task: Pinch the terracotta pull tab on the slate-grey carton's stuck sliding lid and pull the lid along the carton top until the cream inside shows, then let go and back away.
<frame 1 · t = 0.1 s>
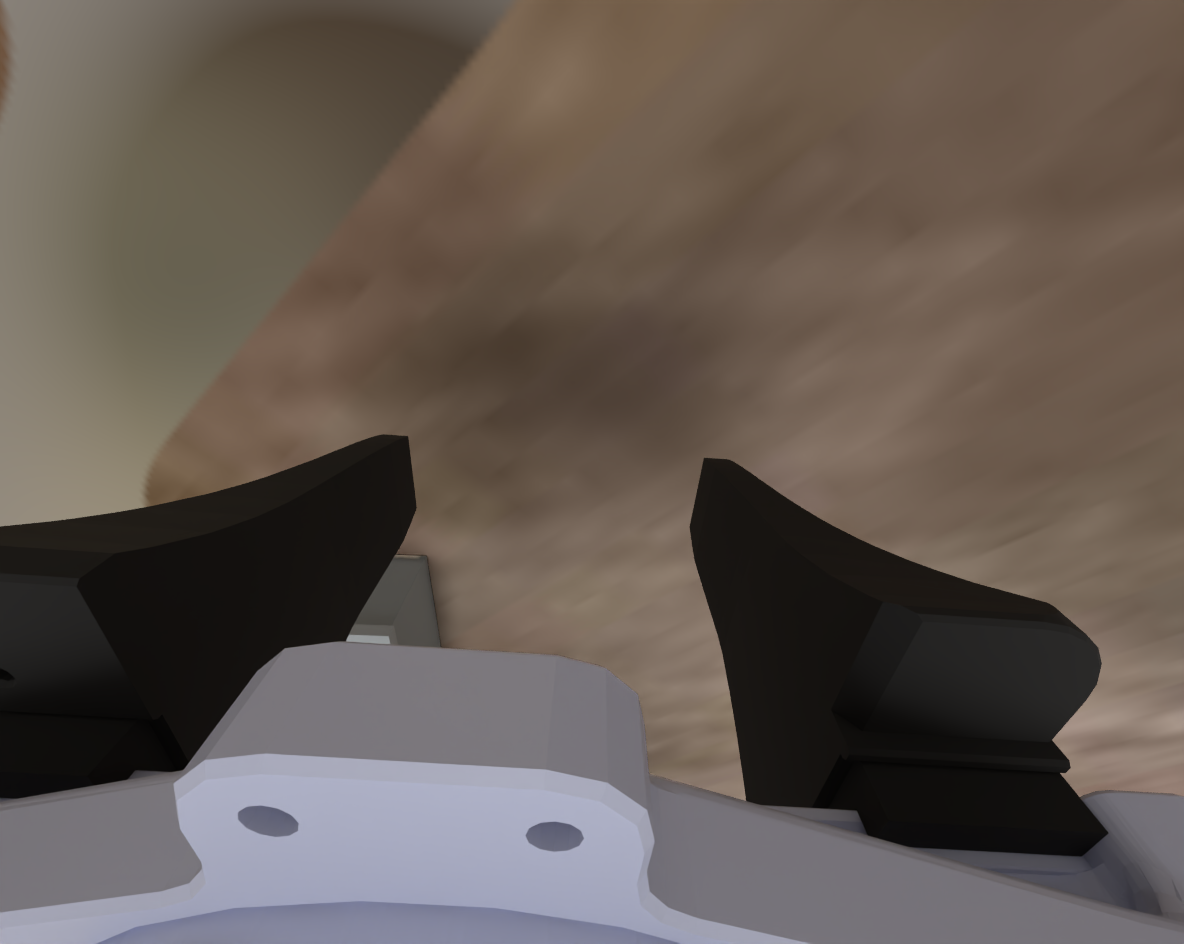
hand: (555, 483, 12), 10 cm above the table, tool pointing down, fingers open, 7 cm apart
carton: (351, 620, 28), on the table
lid: (276, 743, 22), point 7 cm above the table, slide at 0.0 cm
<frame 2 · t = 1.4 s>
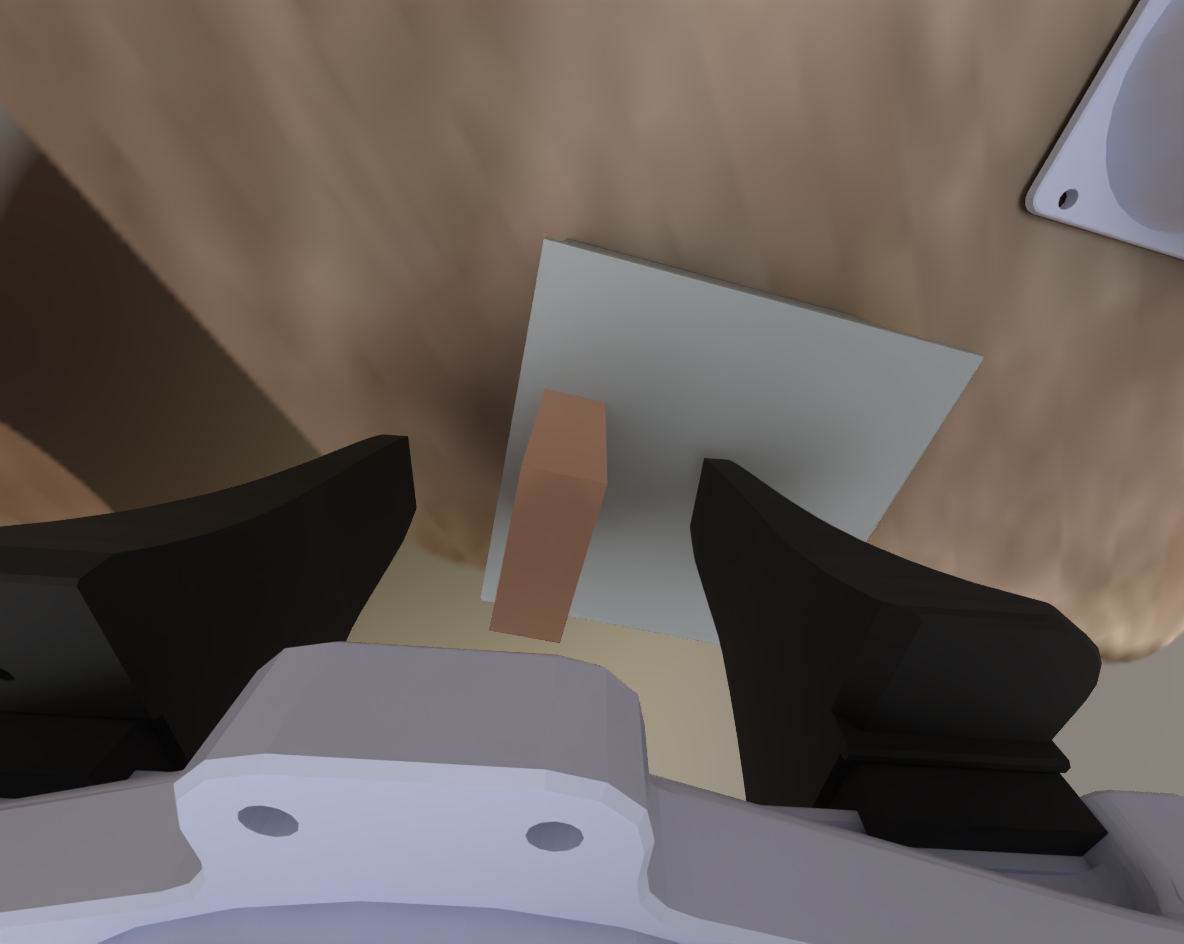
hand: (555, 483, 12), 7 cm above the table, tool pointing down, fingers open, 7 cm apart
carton: (669, 417, 18), on the table
lid: (708, 533, 12), point 7 cm above the table, slide at 0.0 cm
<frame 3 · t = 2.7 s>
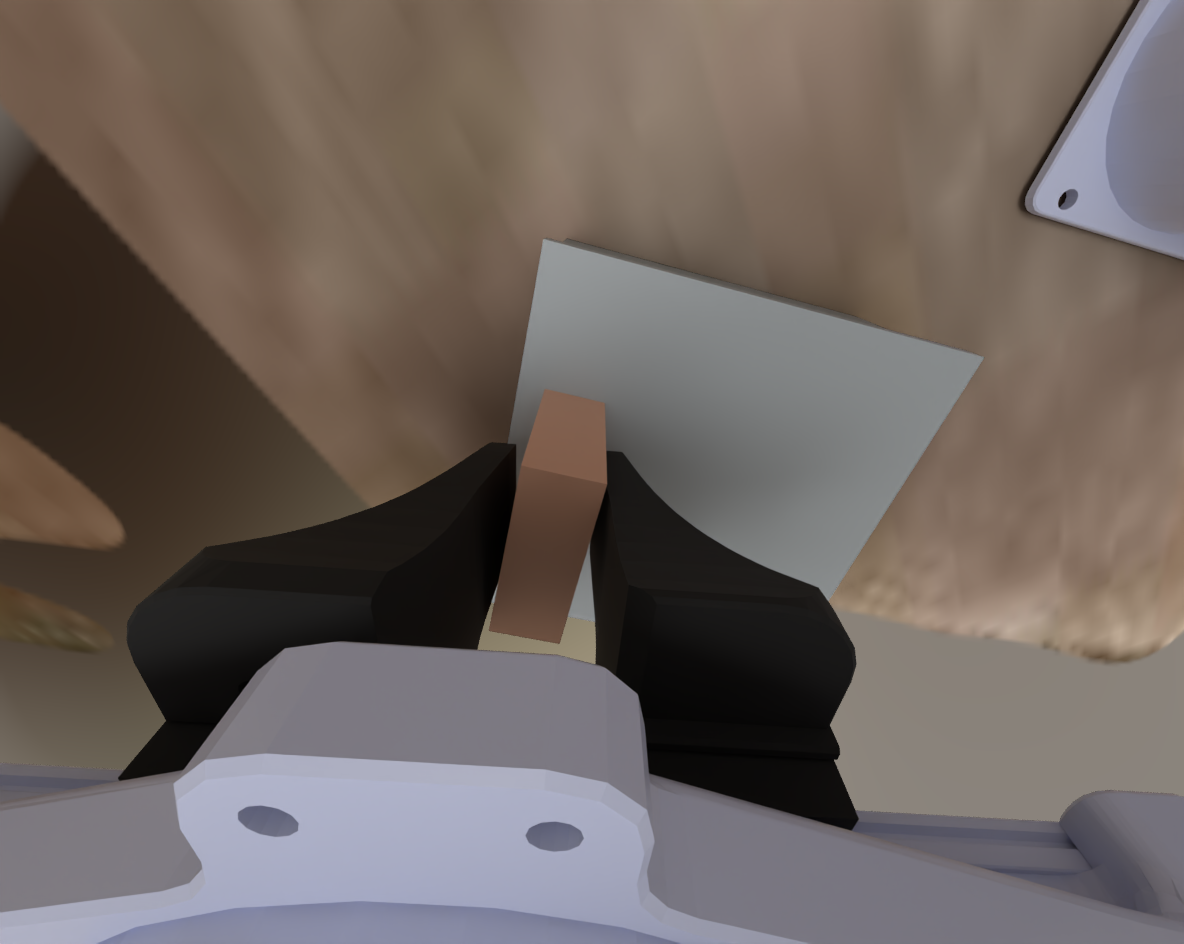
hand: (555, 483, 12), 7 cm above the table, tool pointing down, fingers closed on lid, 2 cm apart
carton: (668, 417, 18), on the table
lid: (707, 533, 12), point 7 cm above the table, slide at 0.0 cm, touching gripper
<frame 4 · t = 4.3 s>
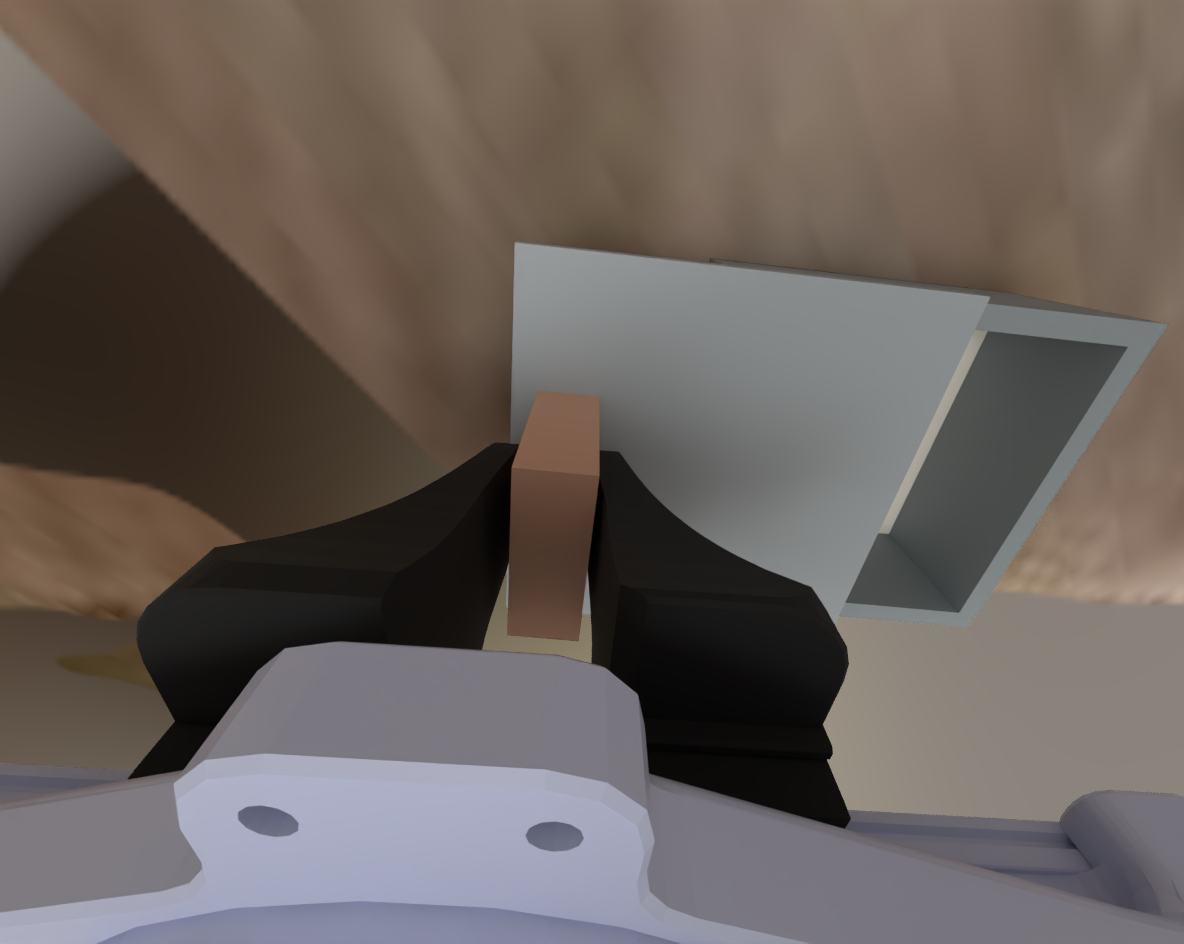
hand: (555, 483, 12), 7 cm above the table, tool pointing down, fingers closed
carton: (812, 418, 18), on the table
lid: (719, 515, 11), point 7 cm above the table, slide at 5.2 cm, touching gripper
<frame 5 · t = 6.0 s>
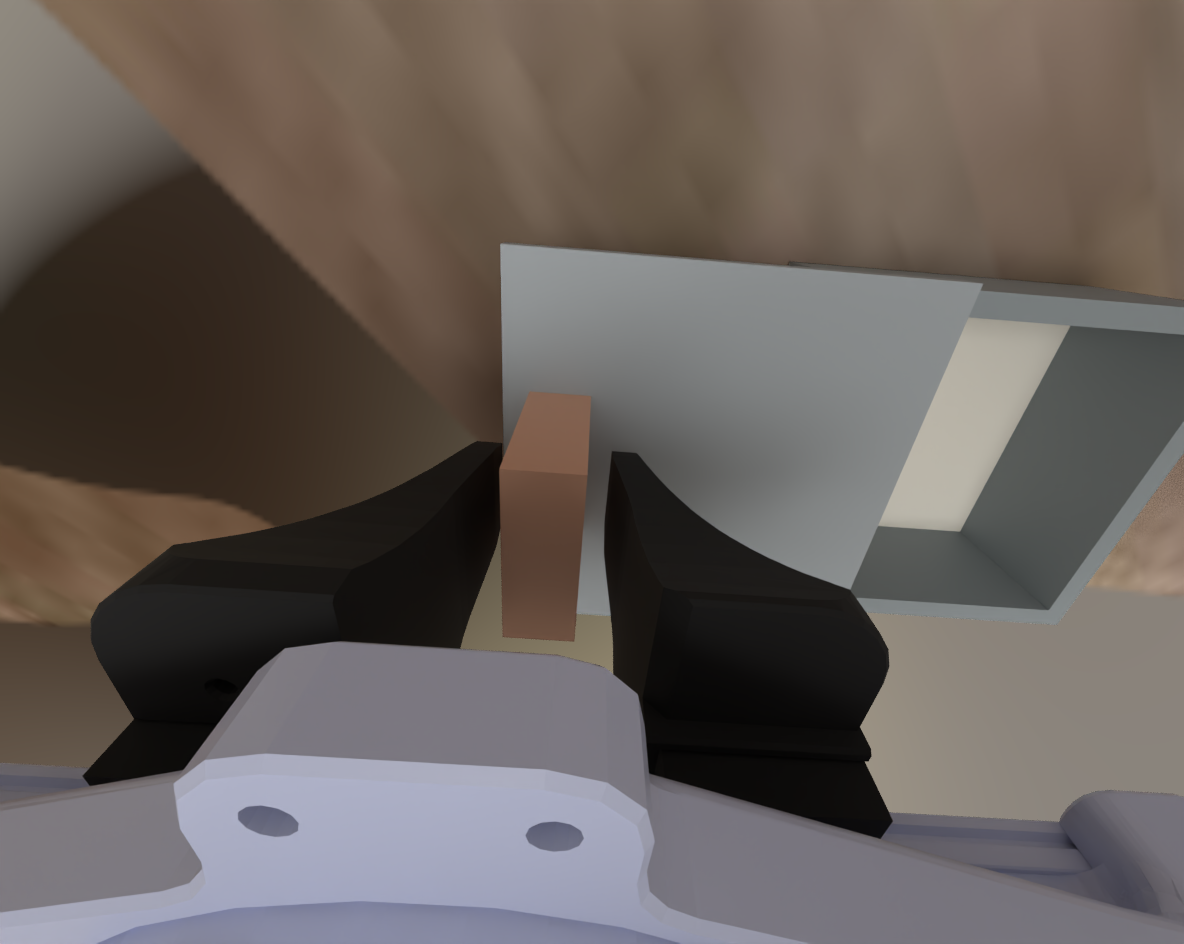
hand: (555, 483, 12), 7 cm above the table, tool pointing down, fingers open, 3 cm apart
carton: (885, 417, 18), on the table
lid: (713, 511, 11), point 7 cm above the table, slide at 8.0 cm
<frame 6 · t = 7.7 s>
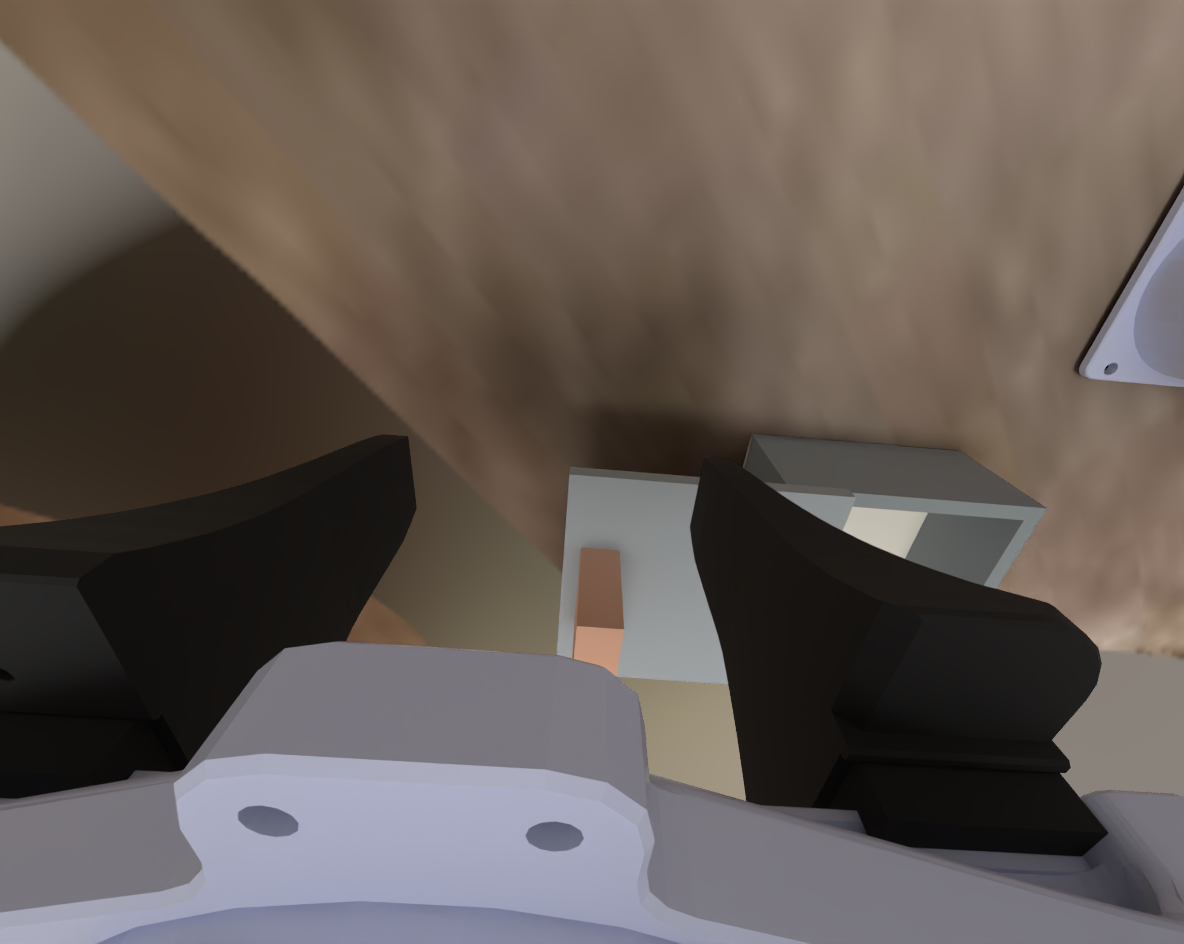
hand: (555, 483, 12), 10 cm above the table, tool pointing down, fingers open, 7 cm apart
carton: (823, 529, 25), on the table
lid: (695, 626, 18), point 7 cm above the table, slide at 8.0 cm
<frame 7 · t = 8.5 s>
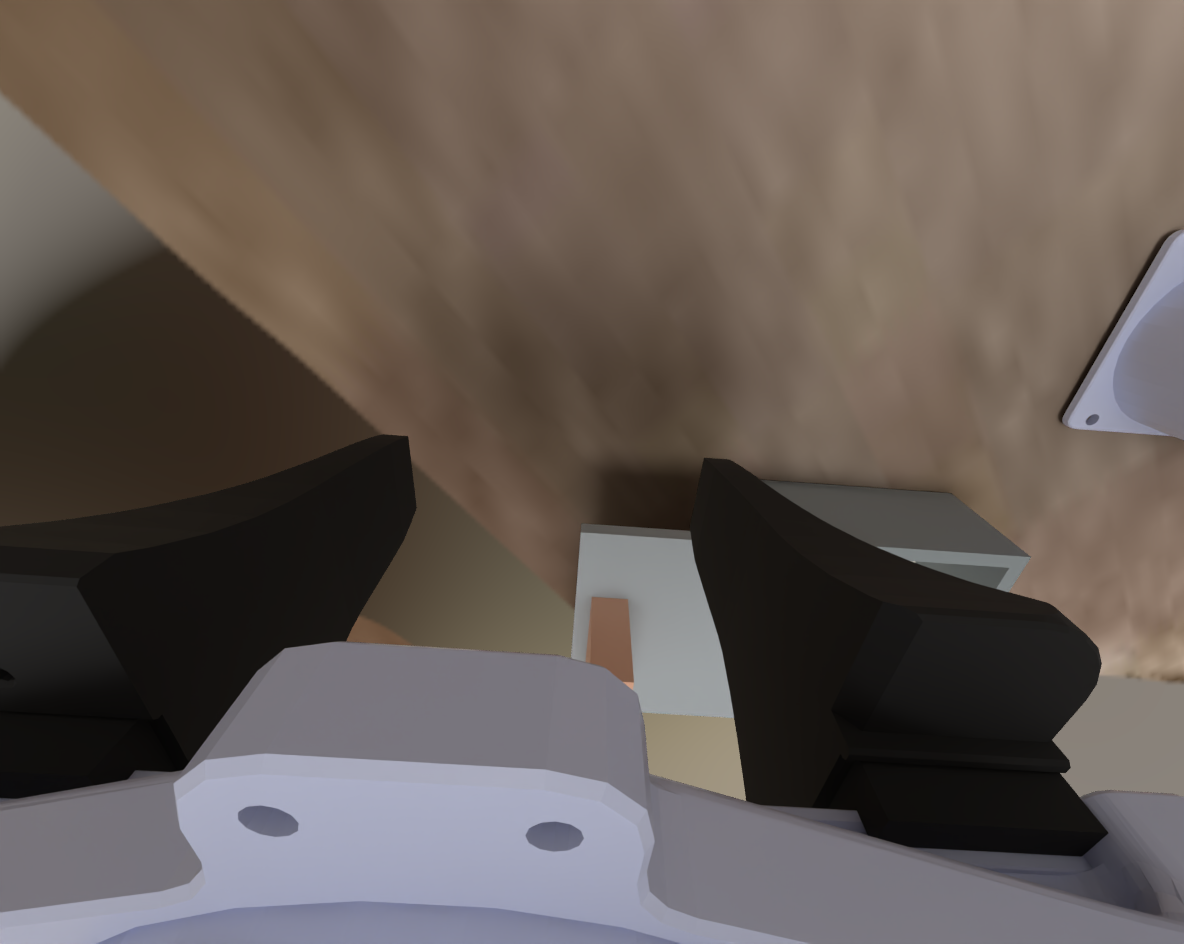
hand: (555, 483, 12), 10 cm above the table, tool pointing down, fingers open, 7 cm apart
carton: (821, 565, 26), on the table
lid: (699, 671, 19), point 7 cm above the table, slide at 8.0 cm
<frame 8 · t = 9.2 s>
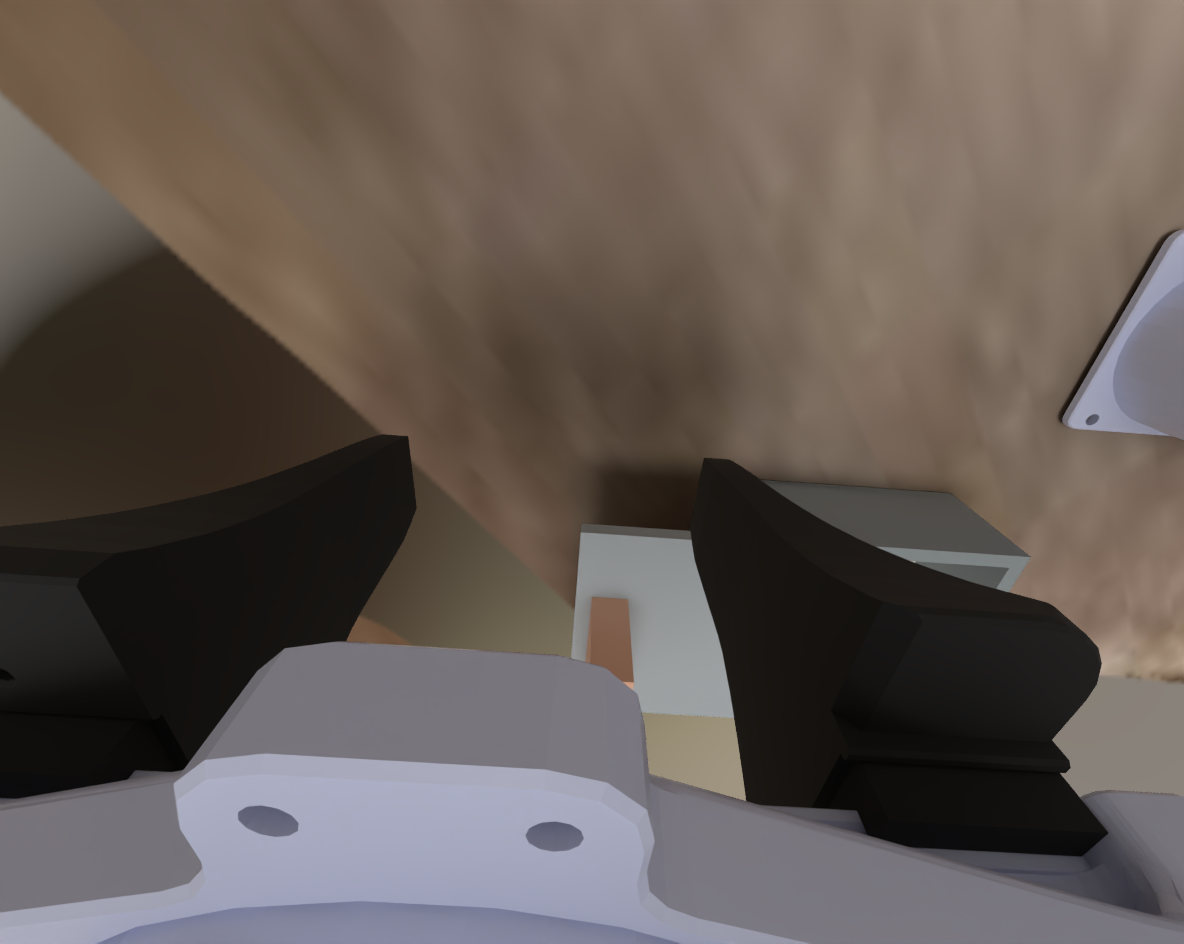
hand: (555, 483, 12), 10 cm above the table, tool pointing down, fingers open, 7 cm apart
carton: (821, 565, 26), on the table
lid: (699, 671, 19), point 7 cm above the table, slide at 8.0 cm
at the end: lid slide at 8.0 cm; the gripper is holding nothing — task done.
